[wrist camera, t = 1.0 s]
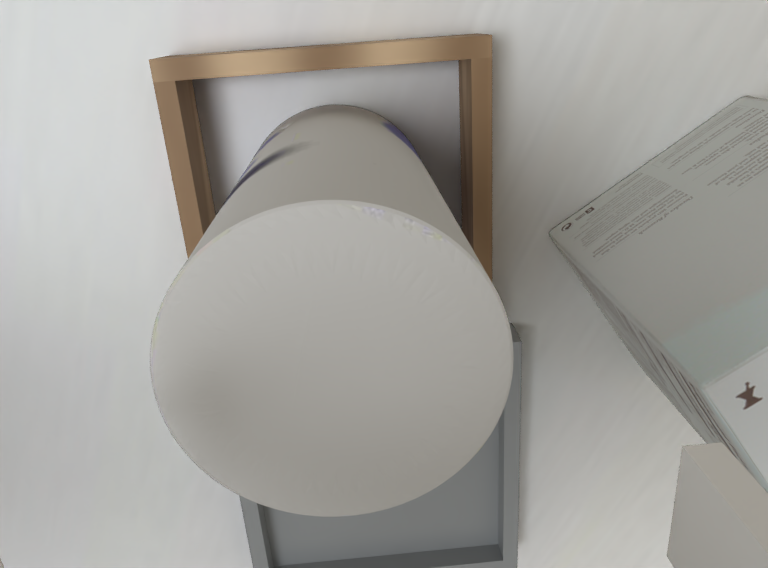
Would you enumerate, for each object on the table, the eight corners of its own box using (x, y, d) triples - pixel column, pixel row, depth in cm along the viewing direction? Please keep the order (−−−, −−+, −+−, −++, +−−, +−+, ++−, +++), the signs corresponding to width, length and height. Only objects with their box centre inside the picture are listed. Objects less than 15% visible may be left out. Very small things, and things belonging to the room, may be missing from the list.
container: (247, 98, 33) (132, 192, 15) (434, 109, 34) (542, 212, 16) (250, 274, 37) (160, 521, 19) (418, 280, 38) (490, 523, 20)
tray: (262, 566, 46) (258, 595, 44) (222, 348, 39) (214, 368, 37) (508, 542, 46) (517, 569, 44) (511, 323, 40) (522, 341, 37)
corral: (219, 333, 39) (208, 362, 35) (168, 55, 32) (148, 59, 29) (479, 311, 39) (492, 337, 36) (477, 33, 33) (492, 34, 30)
